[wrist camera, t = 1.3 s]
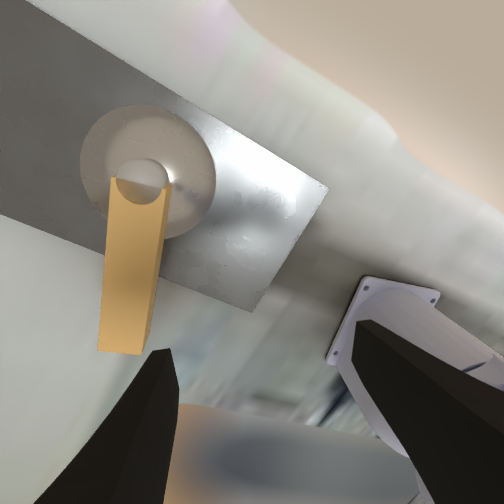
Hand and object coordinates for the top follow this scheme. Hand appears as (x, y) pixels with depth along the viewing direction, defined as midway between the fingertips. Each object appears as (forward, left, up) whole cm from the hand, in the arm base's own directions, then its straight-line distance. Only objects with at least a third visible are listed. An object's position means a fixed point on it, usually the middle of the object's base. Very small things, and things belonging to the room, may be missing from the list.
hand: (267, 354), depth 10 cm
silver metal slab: (+3, +6, -10) cm, 13 cm away
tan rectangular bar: (0, +6, -7) cm, 10 cm away
